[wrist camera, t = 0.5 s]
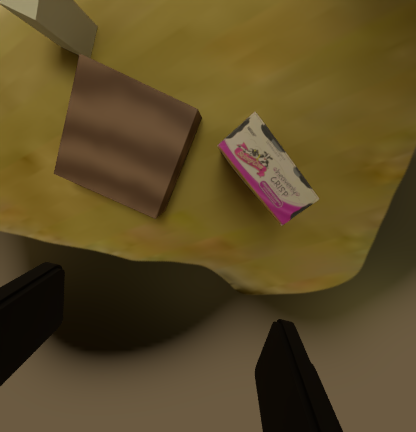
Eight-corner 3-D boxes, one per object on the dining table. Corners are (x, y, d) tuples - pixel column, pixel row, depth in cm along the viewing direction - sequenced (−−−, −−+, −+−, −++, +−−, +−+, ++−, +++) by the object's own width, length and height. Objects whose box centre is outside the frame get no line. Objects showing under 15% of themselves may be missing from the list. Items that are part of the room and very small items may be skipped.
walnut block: (104, 71, 34) (79, 53, 28) (202, 117, 35) (197, 109, 29) (79, 171, 39) (53, 173, 33) (165, 210, 40) (155, 218, 34)
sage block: (67, 12, 32) (0, -53, 22) (97, 26, 32) (43, -32, 22) (61, 46, 33) (-6, 0, 24) (89, 60, 33) (35, 19, 24)
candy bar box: (218, 151, 36) (214, 144, 20) (240, 131, 35) (255, 106, 19) (257, 199, 37) (282, 228, 22) (280, 182, 36) (323, 198, 20)
